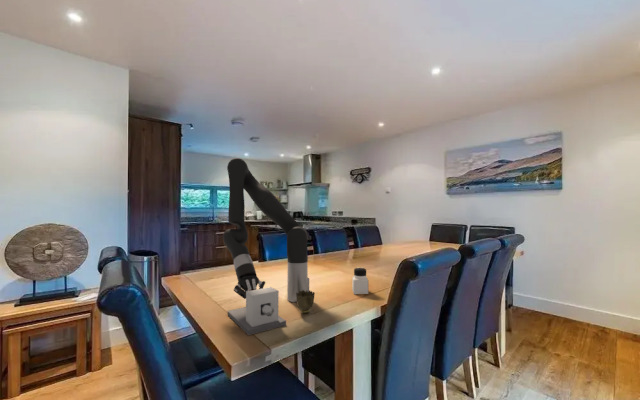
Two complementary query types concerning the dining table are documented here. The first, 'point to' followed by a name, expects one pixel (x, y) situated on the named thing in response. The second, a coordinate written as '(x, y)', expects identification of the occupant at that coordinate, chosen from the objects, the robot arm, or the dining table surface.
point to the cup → (305, 301)
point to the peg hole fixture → (258, 312)
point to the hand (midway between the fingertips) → (255, 306)
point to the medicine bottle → (360, 281)
